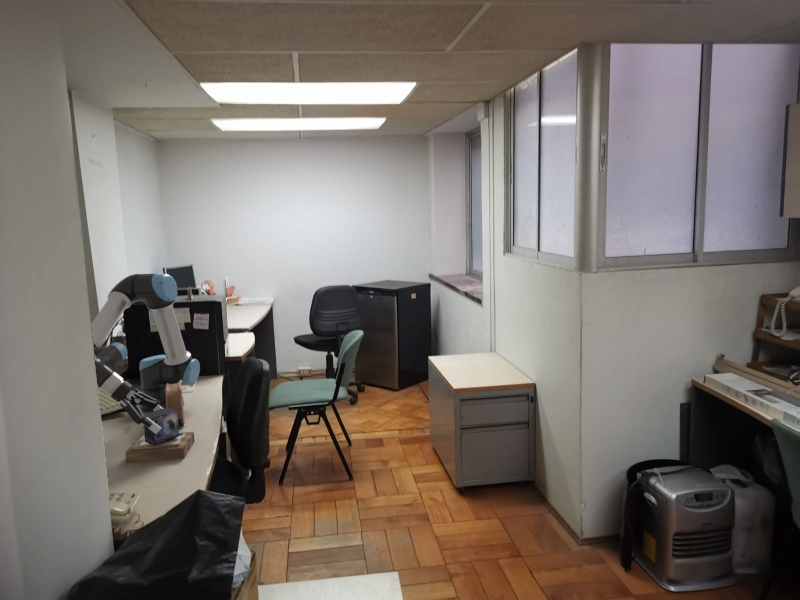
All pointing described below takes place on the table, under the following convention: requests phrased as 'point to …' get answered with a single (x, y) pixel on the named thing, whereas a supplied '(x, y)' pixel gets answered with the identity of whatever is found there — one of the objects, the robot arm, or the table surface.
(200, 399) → the table surface
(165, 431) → the small box
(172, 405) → the face sculpture
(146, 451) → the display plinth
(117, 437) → the table surface
